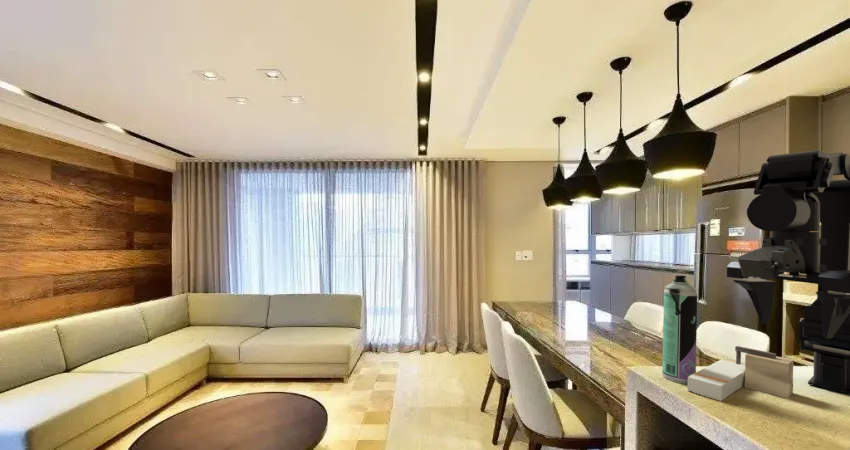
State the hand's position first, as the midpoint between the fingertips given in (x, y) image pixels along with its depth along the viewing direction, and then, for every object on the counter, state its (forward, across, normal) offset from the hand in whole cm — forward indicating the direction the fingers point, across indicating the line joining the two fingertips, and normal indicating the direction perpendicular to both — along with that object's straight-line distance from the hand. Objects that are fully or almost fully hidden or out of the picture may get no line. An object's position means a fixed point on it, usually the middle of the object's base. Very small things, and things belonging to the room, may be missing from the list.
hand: (793, 329), depth 63 cm
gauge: (+14, -9, +6) cm, 17 cm away
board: (+13, -12, -1) cm, 18 cm away
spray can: (+13, -16, -7) cm, 22 cm away
